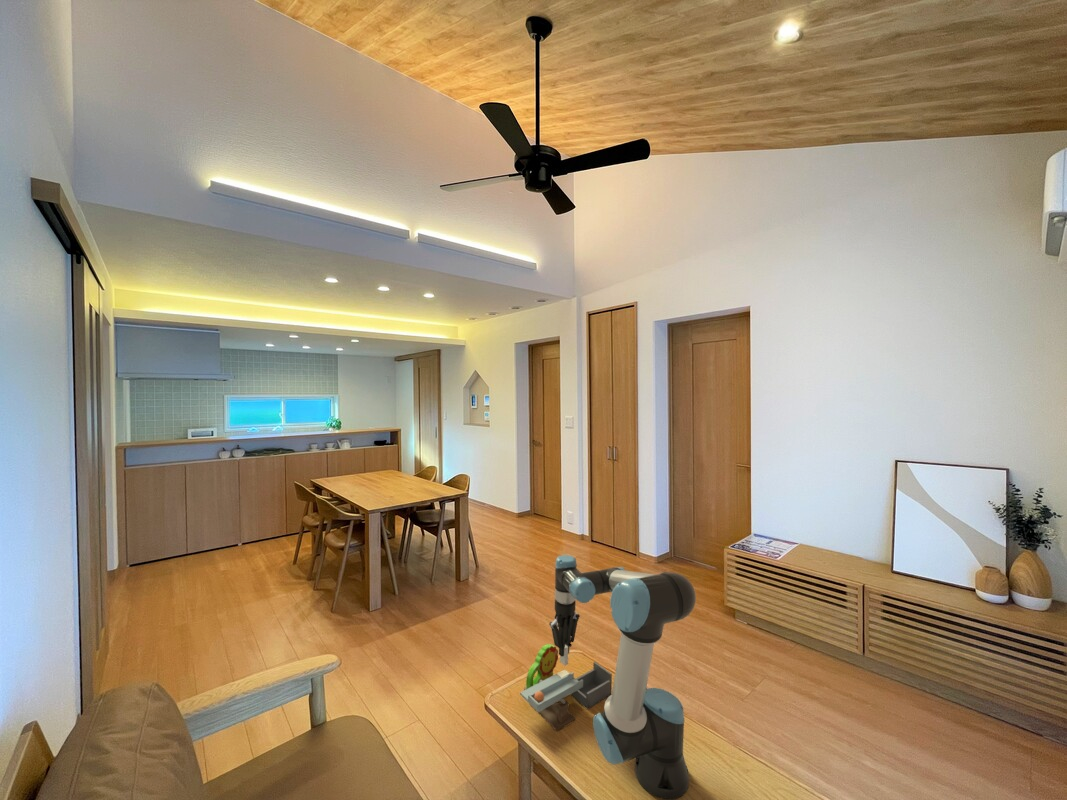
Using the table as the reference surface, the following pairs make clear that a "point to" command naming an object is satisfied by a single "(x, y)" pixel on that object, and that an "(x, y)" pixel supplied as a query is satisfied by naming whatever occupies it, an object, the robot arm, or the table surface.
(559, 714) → the stand
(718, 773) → the table surface
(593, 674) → the pulled-out tray drawer
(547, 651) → the toy lion
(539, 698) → the ball
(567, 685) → the lever
